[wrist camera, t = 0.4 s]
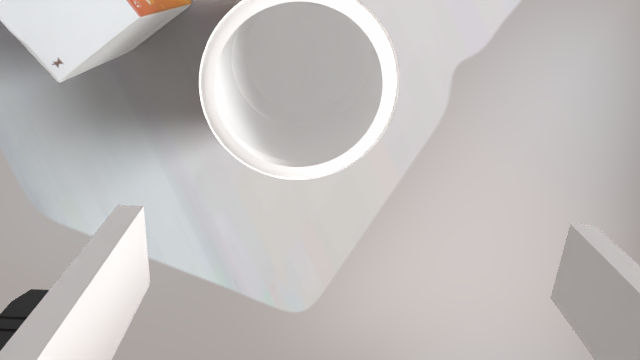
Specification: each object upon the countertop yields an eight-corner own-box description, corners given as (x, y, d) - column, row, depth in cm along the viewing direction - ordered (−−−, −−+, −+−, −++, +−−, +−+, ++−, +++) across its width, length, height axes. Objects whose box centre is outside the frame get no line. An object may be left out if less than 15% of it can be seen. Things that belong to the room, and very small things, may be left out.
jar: (321, -54, 38) (327, -66, 24) (394, 63, 41) (437, 112, 27) (208, 31, 40) (153, 65, 26) (286, 136, 43) (275, 215, 30)
